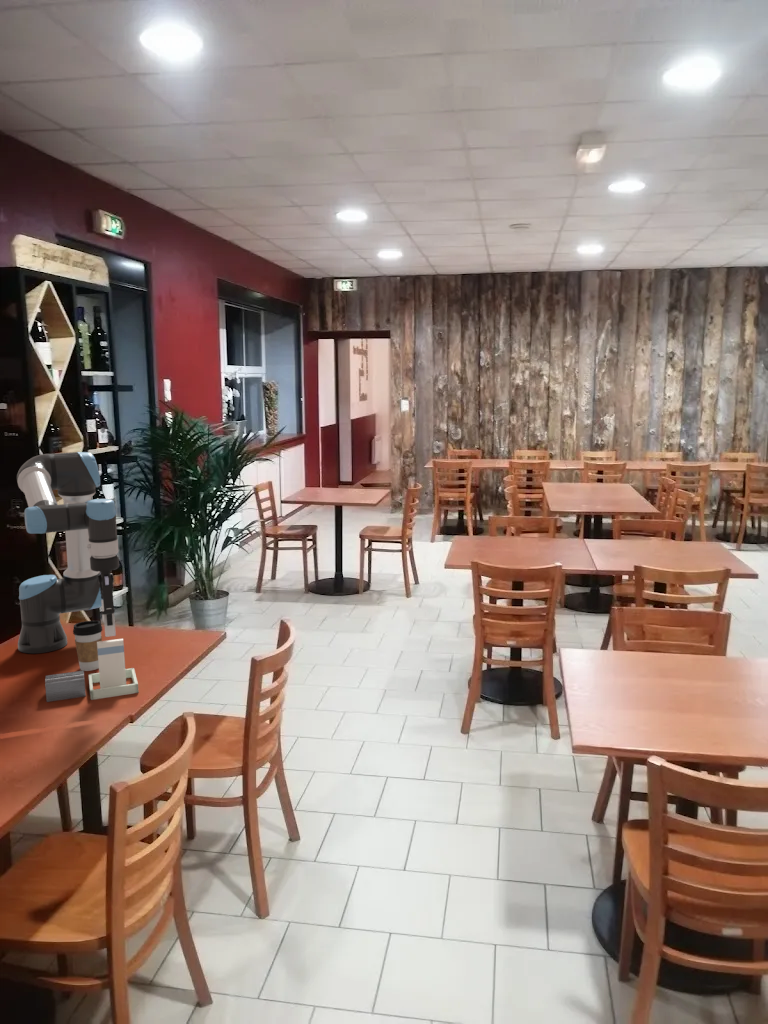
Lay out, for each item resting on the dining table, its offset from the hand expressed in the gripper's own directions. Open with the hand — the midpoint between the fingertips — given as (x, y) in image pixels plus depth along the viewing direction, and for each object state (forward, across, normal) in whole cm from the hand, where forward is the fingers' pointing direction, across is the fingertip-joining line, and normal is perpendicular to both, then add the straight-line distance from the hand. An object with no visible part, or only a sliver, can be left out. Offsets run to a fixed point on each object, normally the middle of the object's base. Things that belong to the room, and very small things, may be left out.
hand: (109, 628), depth 220 cm
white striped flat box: (+18, +1, 0) cm, 18 cm away
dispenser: (+18, +1, -12) cm, 22 cm away
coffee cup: (+19, -19, -5) cm, 28 cm away
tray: (+18, +1, 0) cm, 18 cm away
